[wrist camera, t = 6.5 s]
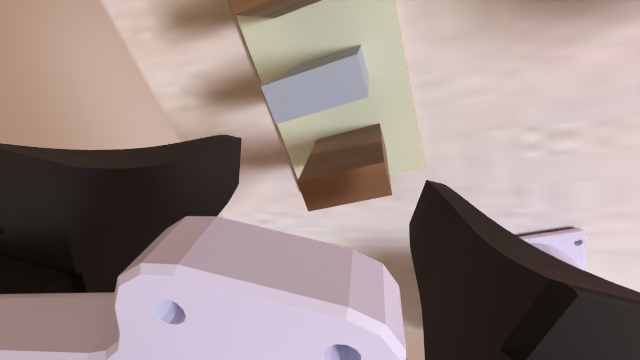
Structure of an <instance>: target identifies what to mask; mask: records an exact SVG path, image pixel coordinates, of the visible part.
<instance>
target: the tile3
mask: <svg viewBox="0 0 640 360" xmlns="http://www.w3.org/2000/svg"><path fill="white" fill-rule="evenodd" d="M319 1H322V0H228V2H229V4H230V7H231V10H232V12H233V15H238V16H253V17H269V18H277V17H280V16H282V15H285V14H288V13H290V12H293V11H295V10H298V9H301V8H303V7H306V6H308V5H311V4H314V3H316V2H319Z"/></svg>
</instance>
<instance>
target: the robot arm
mask: <svg viewBox="0 0 640 360" xmlns="http://www.w3.org/2000/svg"><path fill="white" fill-rule="evenodd" d="M240 153H241V138H238V137H233V136H229V135H217V136H211V137H205V138H200V139H195V140H190V141H185V142H180V143H174V144H168V145H162V146H155V147H147V148H136V149H124V150H123V149H122V150H68V149H50V148H38V147H28V146H19V145H9V144H0V360H406V345H405V336H404V326H403V317H402V307H401V298H400V289H399V285H398V284H397V282H396V281H395V280H394V278H393V277H392V275H391V274H390V273H389V271H388V270H387V269H386V267H385V266H384V264H383V263H381V262H379V261H377V260H374V259H372V258H370V257H368V256H366V255H364V254H362V253H360V252H358V251H356V250H354V249H350V248H346V247H341V246H337V245H333V244H329V243H325V242H321V241H317V240H312V239H308V238H304V237H300V236H296V235H292V234H287V233H283V232H279V231H275V230H271V229H267V228H262V227H258V226H254V225H250V224H246V223H242V222H237V221H233V220H229V219H225V218H220V217H217V216H218V214H219V213H220V212H221V211H222V210H223V208H224V207H225V206H226V205H227V203H228V202H229V200H230V199H231V197H232V195H233V193H234V192H235V190H236V188H237V186H238V184H239V169H240ZM409 232H410V248H411V254H412V259H413V264H414V269H415V274H416V279H417V284H418V289H419V294H420V300H421V306H422V318H423V331H424V346H425V347H424V348H425V360H640V292H637V291H634V290H632V289H629V288H626V287H623V286H621V285H618V284H615V283H613V282H610V281H608V280H605V279H603V278H600V277H598V276H596V275H593V274H591V273H589V272H586V271H585V259H586V238H587V235H586V233H585V232H584V231H583V230H582V229H580V228H575V229H568V230H561V231H554V232H547V233H541V234H534V235H527V236H520V237H517V236H516V235H514V234H512V233H511V232H509V231H508V230H506V229H505V228H503V227H502V226H500V225H499V224H497V223H496V222H494V221H493V220H492V219H490V218H489V217H487V216H486V215H485V214H483V213H482V212H481V211H479V210H478V209H477V208H475V207H474V206H473V205H472V204H470V203H469V202H468V201H466V200H465V199H464V198H463V197H461V196H460V195H459V194H458V193H456V192H455V191H453V190H452V189H451V188H449V187H448V186H446V185H444V184H441V183H437V182H433V181H428V180H426V183H425V185H424V188H423V190H422V193H421V195H420V198H419V201H418V203H417V206H416V208H415V211H414V214H413V216H412V219H411V221H410V224H409ZM576 240H579V241H577V242H575V241H576Z"/></svg>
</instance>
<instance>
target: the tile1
mask: <svg viewBox="0 0 640 360" xmlns="http://www.w3.org/2000/svg"><path fill="white" fill-rule="evenodd" d="M297 183H298V185H299V188H300V191H301V193H302V196H303V198H304V201H305V204H306V206H307V209H308V211H313V210H318V209H323V208H328V207H333V206H339V205H344V204H349V203H354V202H359V201H364V200H369V199H374V198H379V197H384V196H389V195H392V190H391V183H390V176H389V168H388V161H387V153H386V147H385V143H384V139H383V134H382V130H381V126H380V123H379V124H375V125H371V126H367V127H364V128H360V129H356V130H352V131H348V132H344V133H341V134H337V135H333V136H329V137H325V138H321V139H317V140H316V142H315V144H314V146H313V148H312V151H311V153H310V155H309V157H308V159H307V162H306V164H305V166H304V168H303V170H302V172H301V175H300V177H299V179H298V181H297Z"/></svg>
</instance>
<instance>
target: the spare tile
mask: <svg viewBox="0 0 640 360" xmlns="http://www.w3.org/2000/svg"><path fill="white" fill-rule="evenodd" d="M261 88H262V91H263V93H264V96H265V98H266V101H267V103H268V106H269V109H270V111H271V114H272V116H273V119H274V121H275V124H279V123H283V122H286V121H290V120H293V119H296V118H300V117H303V116H307V115H310V114H313V113H317V112H320V111H323V110H327V109H330V108H334V107H337V106H340V105H344V104H347V103H351V102H354V101H357V100H361V99H364V98H367V97H368V96H369V74H368V70H367V66H366V62H365V58H364V54H363V50H362V46H361V45H359V46H356V47H353V48H350V49H347V50H344V51H341V52H338V53H335V54H332V55H330V56H327V57H324V58H321V59H318V60H315V61H312V62H309V63H306V64H303V65H300V66H297V67H295V68H292V69H290V70H289V71H287V72H285V73H283V74H282V75H280V76H278V77H276V78H275V79H273V80H271V81H270V82H268V83H266V84H264V85H263V86H261Z"/></svg>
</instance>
